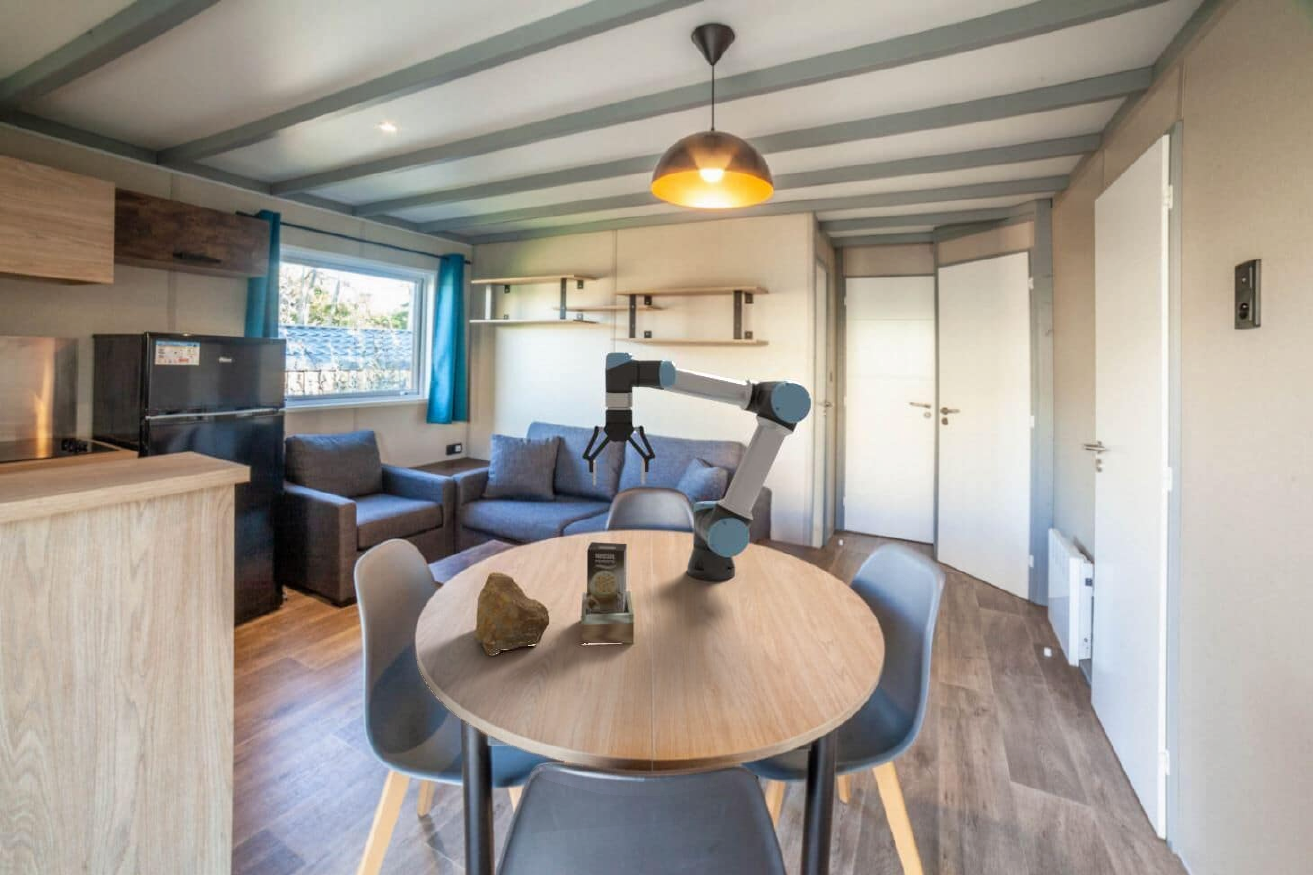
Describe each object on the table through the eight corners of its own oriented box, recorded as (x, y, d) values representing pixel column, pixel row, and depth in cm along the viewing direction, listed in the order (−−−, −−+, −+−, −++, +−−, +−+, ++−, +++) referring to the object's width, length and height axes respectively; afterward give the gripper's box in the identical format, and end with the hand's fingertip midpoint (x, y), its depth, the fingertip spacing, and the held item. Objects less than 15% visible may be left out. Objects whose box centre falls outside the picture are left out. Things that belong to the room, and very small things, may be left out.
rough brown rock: (548, 666, 124) (553, 598, 123) (467, 667, 120) (472, 597, 120) (546, 625, 146) (550, 568, 146) (478, 625, 143) (482, 566, 142)
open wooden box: (629, 617, 148) (629, 591, 147) (633, 643, 133) (633, 614, 132) (582, 619, 147) (582, 592, 146) (581, 645, 132) (581, 616, 131)
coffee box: (585, 615, 137) (585, 549, 135) (590, 604, 143) (590, 541, 142) (624, 616, 136) (624, 550, 135) (627, 606, 143) (627, 542, 141)
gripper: (661, 408, 165) (661, 481, 167) (574, 407, 162) (574, 482, 164) (665, 409, 158) (664, 485, 160) (573, 409, 155) (573, 486, 157)
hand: (619, 484), depth 162 cm, fingers open, 13 cm apart
